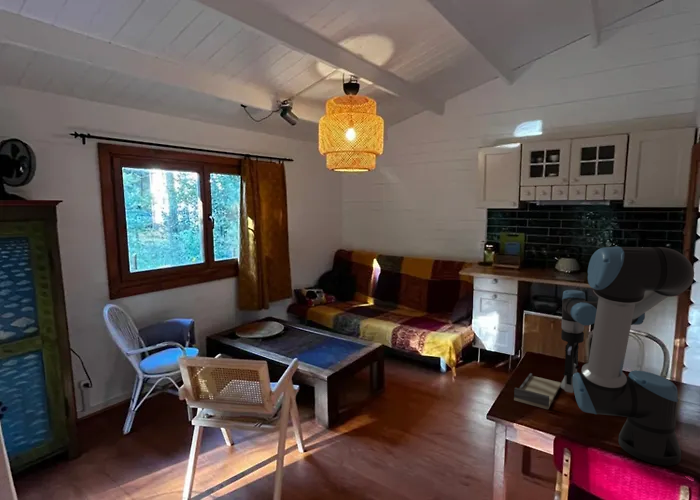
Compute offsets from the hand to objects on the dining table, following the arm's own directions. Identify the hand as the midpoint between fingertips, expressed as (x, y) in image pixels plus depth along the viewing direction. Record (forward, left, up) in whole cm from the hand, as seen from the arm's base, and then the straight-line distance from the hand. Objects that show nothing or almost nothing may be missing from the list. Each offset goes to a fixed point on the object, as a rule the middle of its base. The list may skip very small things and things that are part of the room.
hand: (570, 387), depth 153 cm
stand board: (-3, +11, -4) cm, 12 cm away
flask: (0, 0, -1) cm, 1 cm away
